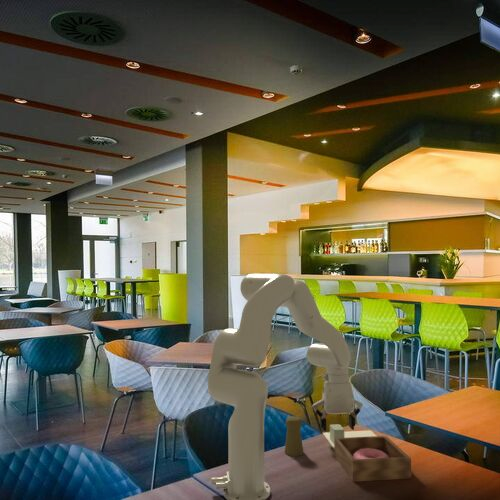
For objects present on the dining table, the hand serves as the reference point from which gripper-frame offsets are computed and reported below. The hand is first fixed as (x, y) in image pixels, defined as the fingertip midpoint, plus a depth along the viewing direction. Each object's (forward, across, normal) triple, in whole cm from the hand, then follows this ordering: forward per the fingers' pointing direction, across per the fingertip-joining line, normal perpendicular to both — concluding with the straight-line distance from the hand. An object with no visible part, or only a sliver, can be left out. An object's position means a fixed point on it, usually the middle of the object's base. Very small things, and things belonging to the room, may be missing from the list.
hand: (337, 428), depth 152 cm
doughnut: (+5, +4, -19) cm, 20 cm away
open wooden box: (+4, +4, -19) cm, 20 cm away
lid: (+5, +6, 0) cm, 8 cm away
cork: (+5, -16, -6) cm, 18 cm away
